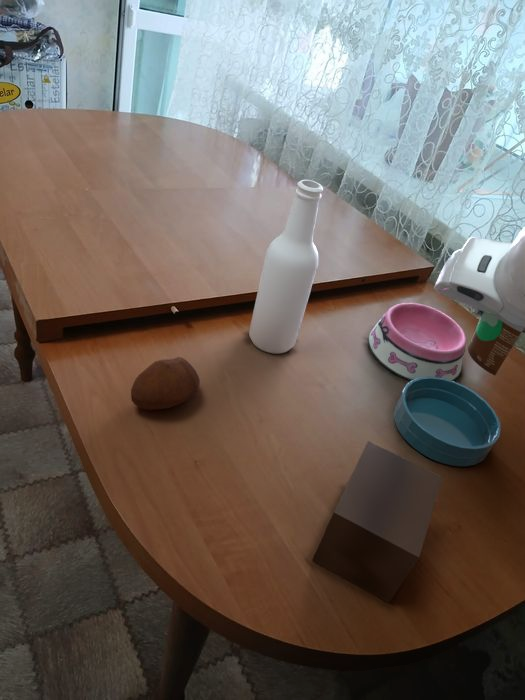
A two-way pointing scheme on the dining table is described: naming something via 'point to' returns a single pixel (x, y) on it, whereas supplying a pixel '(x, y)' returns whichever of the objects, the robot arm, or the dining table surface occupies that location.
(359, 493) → the stand
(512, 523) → the dining table surface
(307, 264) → the alcohol
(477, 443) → the teal bowl
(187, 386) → the potato
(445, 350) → the dog bowl
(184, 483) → the dining table surface
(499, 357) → the food container
